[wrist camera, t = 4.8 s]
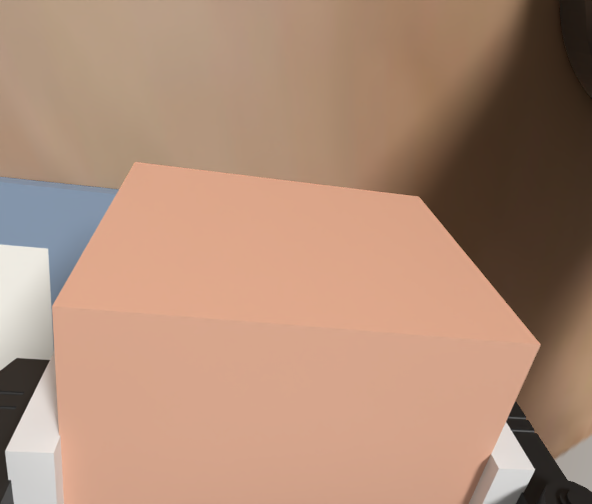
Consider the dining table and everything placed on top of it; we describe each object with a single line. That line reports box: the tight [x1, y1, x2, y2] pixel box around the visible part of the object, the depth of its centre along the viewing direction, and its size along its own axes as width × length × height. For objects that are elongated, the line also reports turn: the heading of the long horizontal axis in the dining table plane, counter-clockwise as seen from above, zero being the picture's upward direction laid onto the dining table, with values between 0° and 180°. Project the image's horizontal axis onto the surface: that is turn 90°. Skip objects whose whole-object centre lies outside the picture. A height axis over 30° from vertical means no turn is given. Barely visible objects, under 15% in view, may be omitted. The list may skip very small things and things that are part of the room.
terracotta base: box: [52, 162, 541, 504], centre depth 13 cm, size 8×8×7 cm
